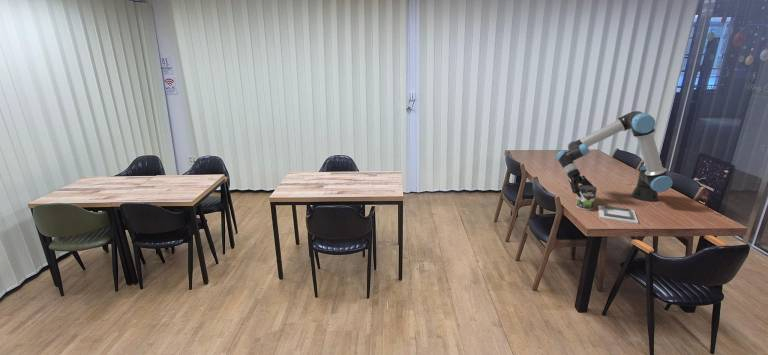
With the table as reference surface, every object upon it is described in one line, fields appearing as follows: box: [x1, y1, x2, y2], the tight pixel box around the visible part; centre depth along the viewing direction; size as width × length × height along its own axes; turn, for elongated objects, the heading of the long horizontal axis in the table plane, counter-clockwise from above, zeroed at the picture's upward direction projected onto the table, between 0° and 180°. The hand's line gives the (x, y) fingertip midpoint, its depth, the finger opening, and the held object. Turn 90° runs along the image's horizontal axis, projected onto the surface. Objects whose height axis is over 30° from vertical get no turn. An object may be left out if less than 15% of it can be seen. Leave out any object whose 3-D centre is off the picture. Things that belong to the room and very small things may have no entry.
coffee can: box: [575, 184, 598, 211], centre depth 239 cm, size 10×10×14 cm
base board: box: [597, 205, 639, 225], centre depth 227 cm, size 20×20×2 cm
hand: (589, 199), depth 237 cm, fingers open, 11 cm apart
